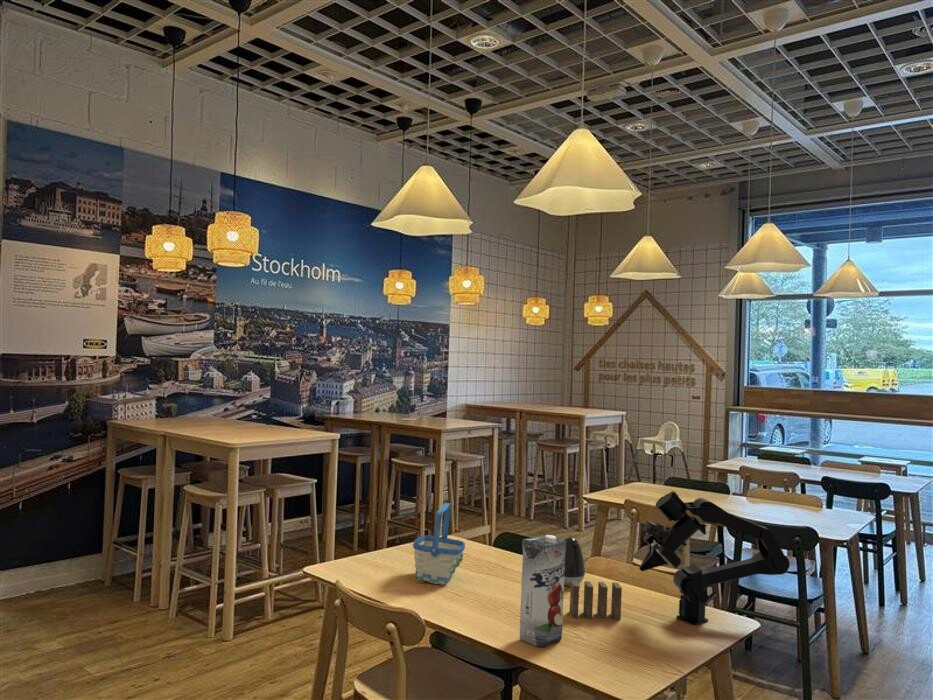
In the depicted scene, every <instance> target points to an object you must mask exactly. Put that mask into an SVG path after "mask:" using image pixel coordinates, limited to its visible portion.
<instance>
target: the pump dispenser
mask: <svg viewBox="0 0 933 700" xmlns="http://www.w3.org/2000/svg"><path fill="white" fill-rule="evenodd" d="M563 540H565V541H566V551H565V572H564V586H568V587H571V581H577V583H578V585H580V584H581V583H582V582H583V580H584V576H585V575H586V566H585V558H584V554H583V551H582V547H581V545H580V543H579V541H578V540H577V539H576V538H575V537H572V536H569V537H566V538H564V539H563Z"/></svg>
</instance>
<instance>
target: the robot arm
mask: <svg viewBox="0 0 933 700" xmlns="http://www.w3.org/2000/svg"><path fill="white" fill-rule="evenodd" d="M655 507H656V508H657V509H658V510H659V511H660V513H661V514H662V515H663V516H664V517H665V518H666V519H667V520H668V521H669V522H671V521H673V522H674V523H673V524H672V525H671V526H669V525H666V526H665V527H664V525H663V524H660V523H659V522H657V523H653V522H652V521H650V520H648V519H647V520H646V521H645V524H643V527H642V529H641V530H642V531H644V533H646V534H645V535H644V536H643V539H644V540H645V541H646V542H647V553H646V555H645V556H644V559H643V560H642V561H641V563H640V565H639V568H638V569H639V571H641V572H645V571H648V570H652V569H654V568H657V567H658V568H659V567H661V566H665V565H666V566H668V565H669V563H670V565H672V567H673V568H674V569H678V568H679V566H680V565H681V564H682V560H681V558H680V557H679V556H678V555H677V553H676V552H677V551H678V550H679V549H680V548H681V547H686V546H687V542H688V540H690V539H691V538H692V537H693V536H694V535H695V534H696V533H697V532H700V533H701V534H703V535H706V534H707V531H706V527H707V524H705V523H703V522H706V523H711V524H715V525H716V524H717V525H721V526H722V525H723V526H726V527H728V528H731V529H733V530H735V531H739V532H741V533H743V534H746V535H748V536H751V537H753V538H755V539H756V544H757V545H756V546H757V549H758V552H756V553H755V554H754V555H753V556H752V557H749V558H747V559H743V560H740V561H735V562H731V563H726V564H722V565H718V566H714V567H709V568H703V569H701V568H700V567H698V566H697V564H691V565H688V566H680V569H678V570H677V571H675V574H674V575H673V584H674V586H675V587H676V588H678V590H679V593H680V599H679V601H678V603H679V604H678V615H676V619H679V620H681V621H684V622H686V623H689V624H692V625H699V624H703V623H706V622H708V621H709V619H708V618H707V617H706V603H707V601H708V599H709V595H708V594H707V592H706V590H707V589H708V588H709V587H711V586H714V585H717V584H723V583H726V582H730V581H734V580H738V579H739V580H740V579H743V578H747V577H751V576H756V575H768V576H776V575H777V576H778V575H780V576H781V575H785V574H786V573H788V571H789V569H790V560H789V558H788V557H787V556H786V555H785V554H784V551H783V549H782V548H781V546H780V545H779V542H778V541H777V540H776V538H775V535H774V533H773V531H772V529H769V528H767V527H766V526H764V525H761V524H760V525H759V524H758V523H757V524H756V523H754V522H752V521H750V520H748V519H744V518H742V517H740V516H738V515H735V514H733V513H729V512H727V511H726V510H724V509H723V508H722V507H720V506H719V505H717V504H715V503H714V502H712V501H710V500H708V499H706V498H705V497H698V498H697V499H695V500H694V501H688V502H684V501H683V500H682V499H681V498H680V497H679V495H678V493H677V492H676V491H674V490H671V491H670V492H669V493H666V494H665V495H663V496H661V497H660V498H659V499H657V501H656V502H655ZM688 513H689V514H691V515H692V516H690V515H689V514H688ZM696 517H697V518H698V519H700V520H701V521H703V522H701V521H699V520H698V519H697V518H696Z"/></svg>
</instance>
